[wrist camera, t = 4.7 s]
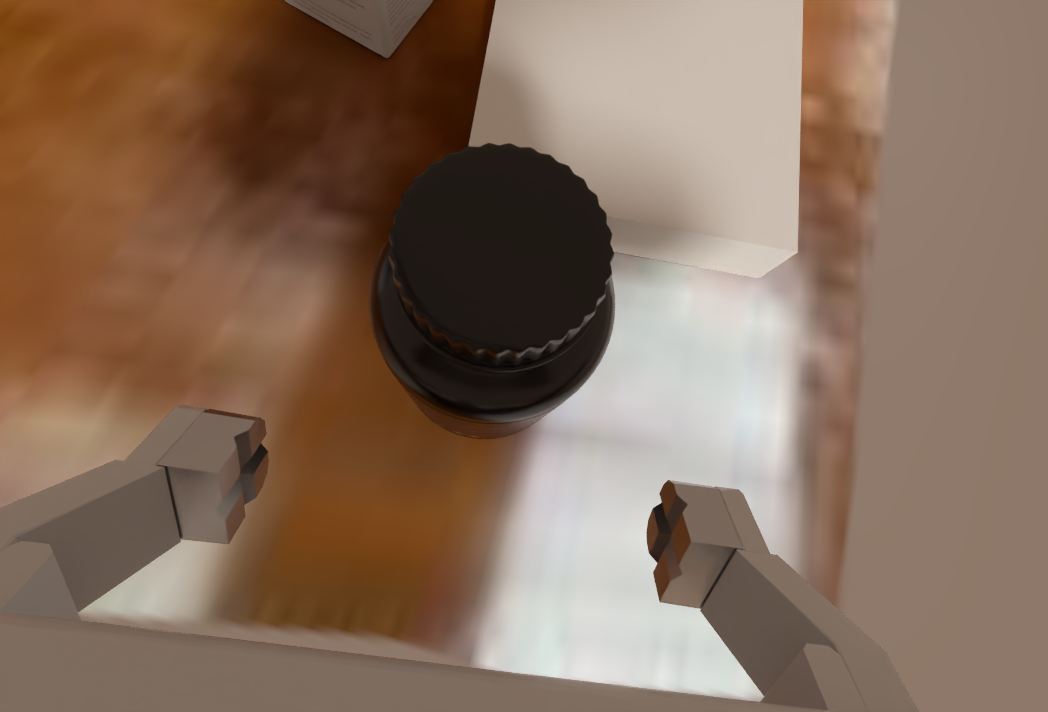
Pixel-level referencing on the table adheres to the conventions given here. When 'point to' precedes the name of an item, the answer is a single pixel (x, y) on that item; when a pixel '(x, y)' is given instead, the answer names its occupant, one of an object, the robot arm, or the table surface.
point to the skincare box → (368, 19)
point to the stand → (660, 118)
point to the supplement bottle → (494, 289)
